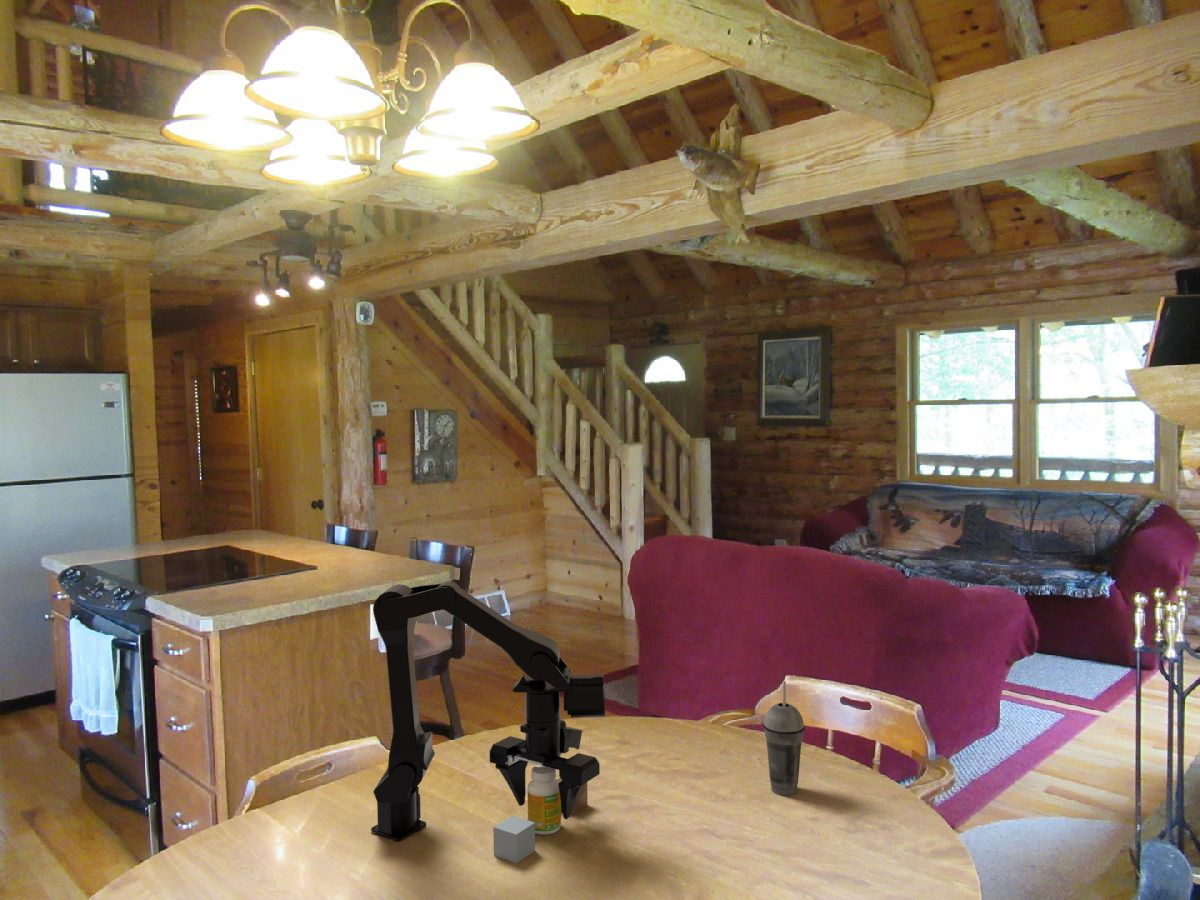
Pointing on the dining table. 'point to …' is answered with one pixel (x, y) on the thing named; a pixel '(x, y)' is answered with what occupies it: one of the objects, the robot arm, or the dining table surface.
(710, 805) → the dining table surface
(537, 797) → the supplement bottle
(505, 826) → the slate block
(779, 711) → the beverage cup
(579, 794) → the pinkish brown block
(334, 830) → the dining table surface
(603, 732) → the dining table surface
